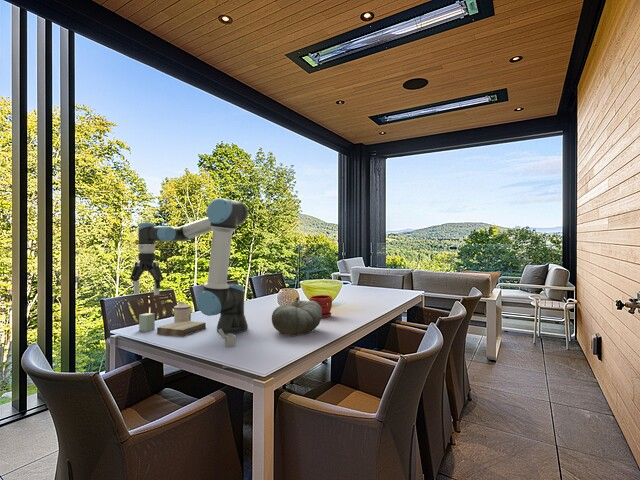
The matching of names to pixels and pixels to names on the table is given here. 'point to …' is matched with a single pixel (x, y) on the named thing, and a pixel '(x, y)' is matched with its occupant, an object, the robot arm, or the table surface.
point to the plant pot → (323, 304)
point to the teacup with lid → (182, 312)
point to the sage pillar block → (146, 321)
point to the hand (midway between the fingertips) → (146, 294)
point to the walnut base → (181, 328)
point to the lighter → (228, 339)
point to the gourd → (297, 317)
